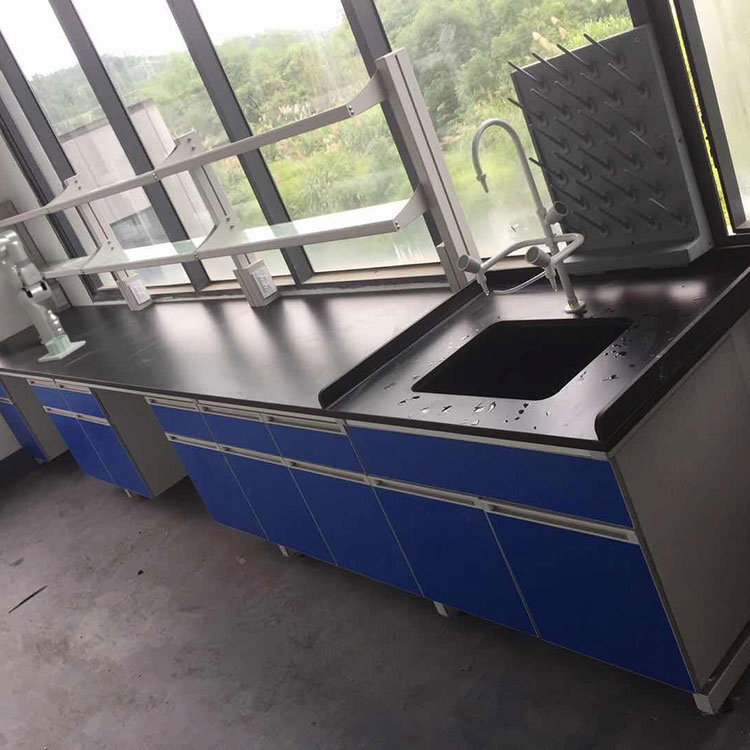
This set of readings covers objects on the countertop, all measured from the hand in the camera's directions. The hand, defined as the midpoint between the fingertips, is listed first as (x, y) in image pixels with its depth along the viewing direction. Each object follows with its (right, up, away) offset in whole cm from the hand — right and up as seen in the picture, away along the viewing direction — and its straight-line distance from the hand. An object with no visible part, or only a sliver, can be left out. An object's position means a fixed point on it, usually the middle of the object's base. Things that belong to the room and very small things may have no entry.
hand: (38, 293), depth 422 cm
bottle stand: (+15, -31, -7) cm, 35 cm away
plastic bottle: (+10, -26, +11) cm, 30 cm away
